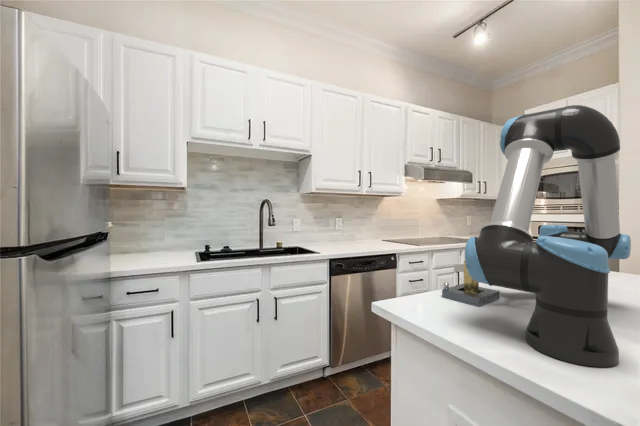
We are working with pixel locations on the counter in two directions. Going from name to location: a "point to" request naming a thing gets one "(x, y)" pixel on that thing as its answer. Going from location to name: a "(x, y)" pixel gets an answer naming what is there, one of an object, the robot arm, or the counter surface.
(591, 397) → the counter surface
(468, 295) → the jig
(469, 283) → the bushing
